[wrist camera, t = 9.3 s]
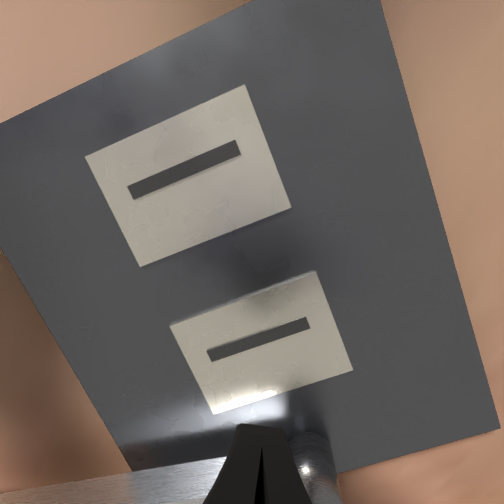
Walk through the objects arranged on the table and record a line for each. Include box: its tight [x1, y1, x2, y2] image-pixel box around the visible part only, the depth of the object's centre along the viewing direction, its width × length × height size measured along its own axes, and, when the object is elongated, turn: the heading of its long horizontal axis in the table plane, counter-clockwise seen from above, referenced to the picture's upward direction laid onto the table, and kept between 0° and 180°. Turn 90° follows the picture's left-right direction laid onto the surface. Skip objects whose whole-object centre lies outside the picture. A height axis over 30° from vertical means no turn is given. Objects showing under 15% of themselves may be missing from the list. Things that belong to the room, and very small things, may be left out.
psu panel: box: [0, 0, 501, 474], centre depth 16 cm, size 18×21×2 cm
